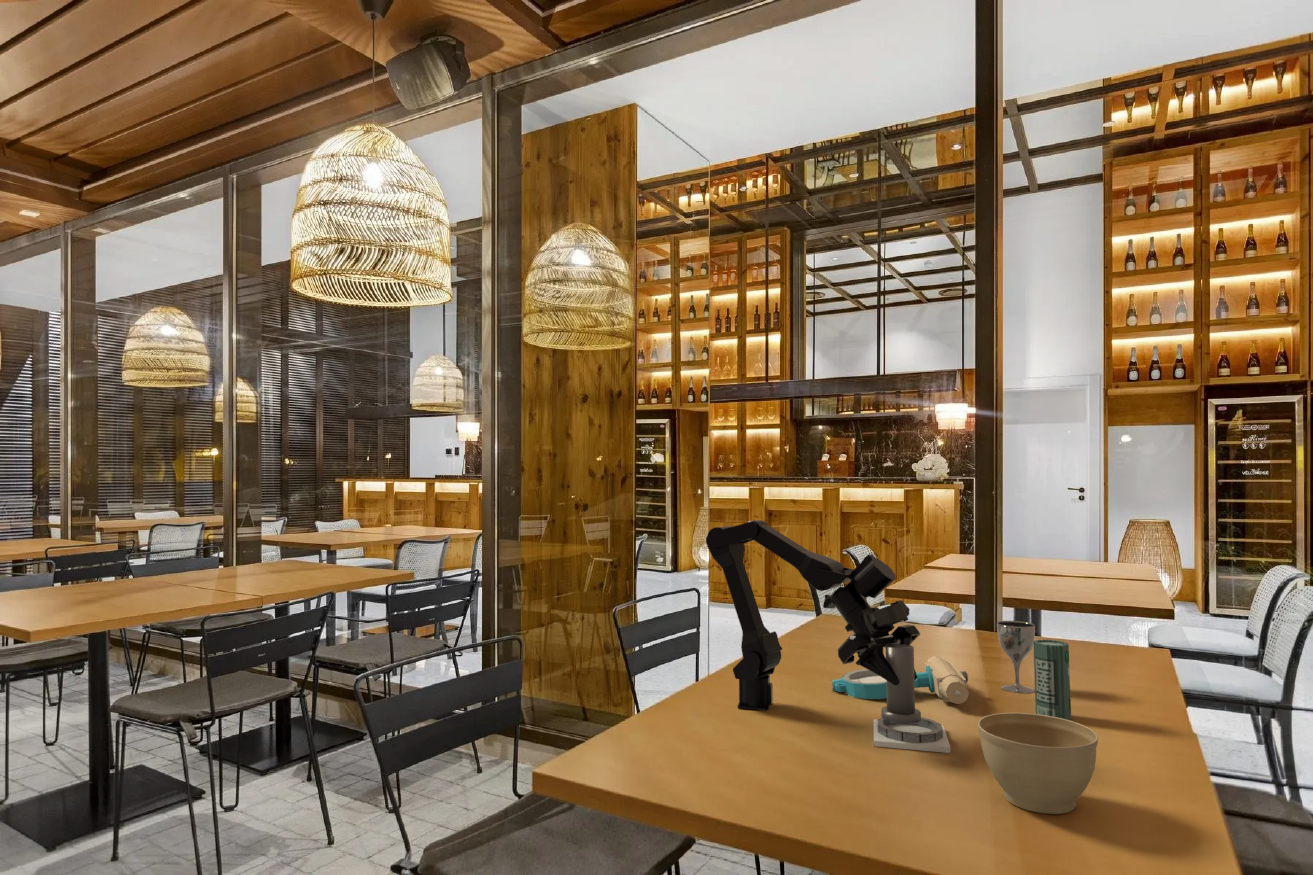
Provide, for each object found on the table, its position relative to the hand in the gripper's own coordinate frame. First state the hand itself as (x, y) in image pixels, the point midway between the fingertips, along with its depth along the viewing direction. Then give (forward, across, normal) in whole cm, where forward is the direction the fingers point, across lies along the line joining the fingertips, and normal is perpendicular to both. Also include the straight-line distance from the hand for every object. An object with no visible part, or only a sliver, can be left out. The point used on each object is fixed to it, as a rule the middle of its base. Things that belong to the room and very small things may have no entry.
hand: (906, 681), depth 140 cm
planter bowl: (+27, -6, -11) cm, 30 cm away
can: (+14, +37, +2) cm, 40 cm away
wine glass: (+3, +52, +13) cm, 54 cm away
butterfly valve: (-7, +27, +23) cm, 36 cm away
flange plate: (+7, +3, +9) cm, 12 cm away
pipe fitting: (+4, 0, +6) cm, 7 cm away
